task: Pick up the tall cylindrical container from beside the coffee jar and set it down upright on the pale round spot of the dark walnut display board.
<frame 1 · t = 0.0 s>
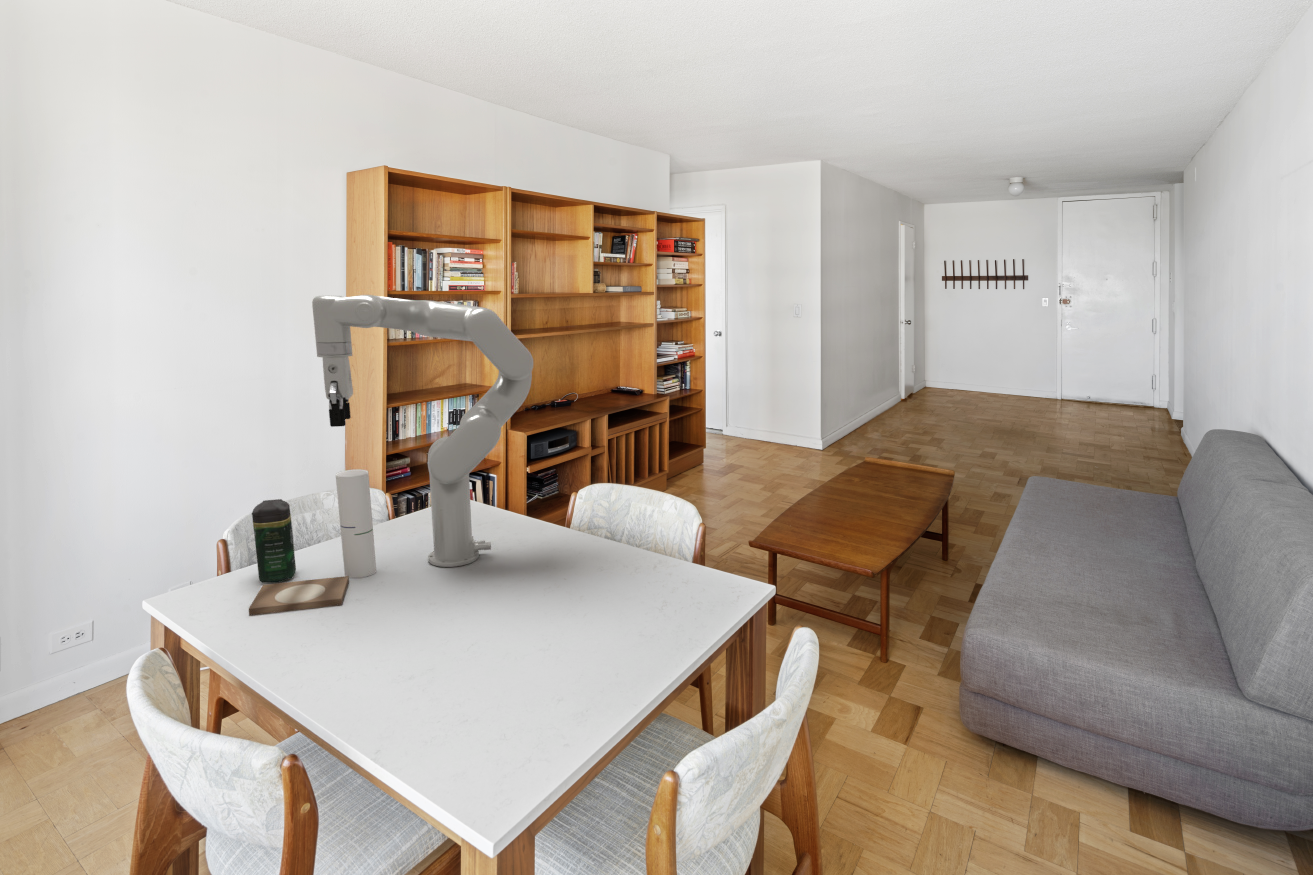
hand: (340, 422, 165), 37 cm above the table, tool pointing down, fingers open, 9 cm apart
coffee jar: (278, 577, 167), on the table
cylindrical container: (360, 572, 170), on the table
walnut board: (301, 597, 156), on the table
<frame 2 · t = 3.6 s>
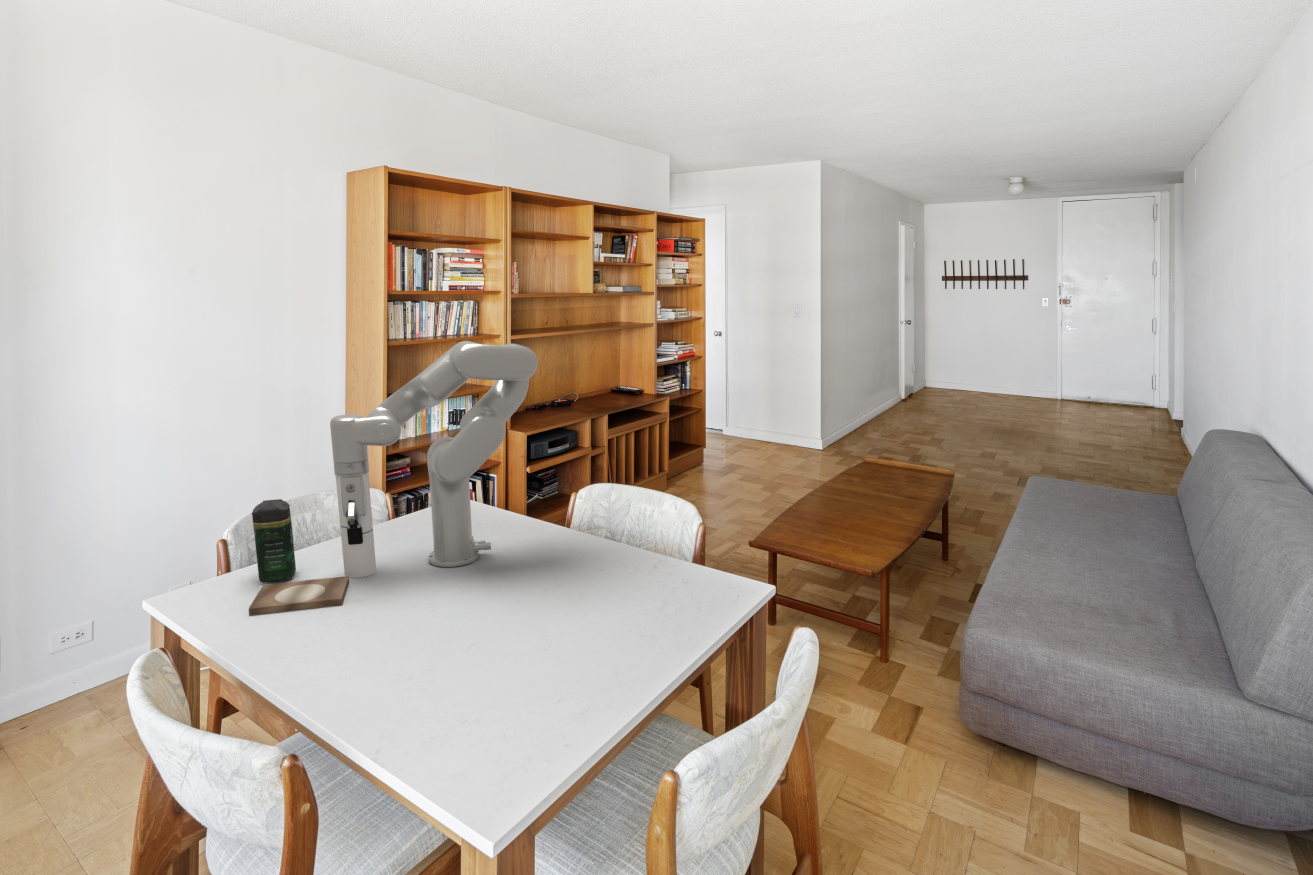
hand: (357, 537, 168), 9 cm above the table, tool pointing down, fingers closed on cylindrical container, 7 cm apart
cylindrical container: (360, 572, 170), on the table, touching gripper
everything else where it was.
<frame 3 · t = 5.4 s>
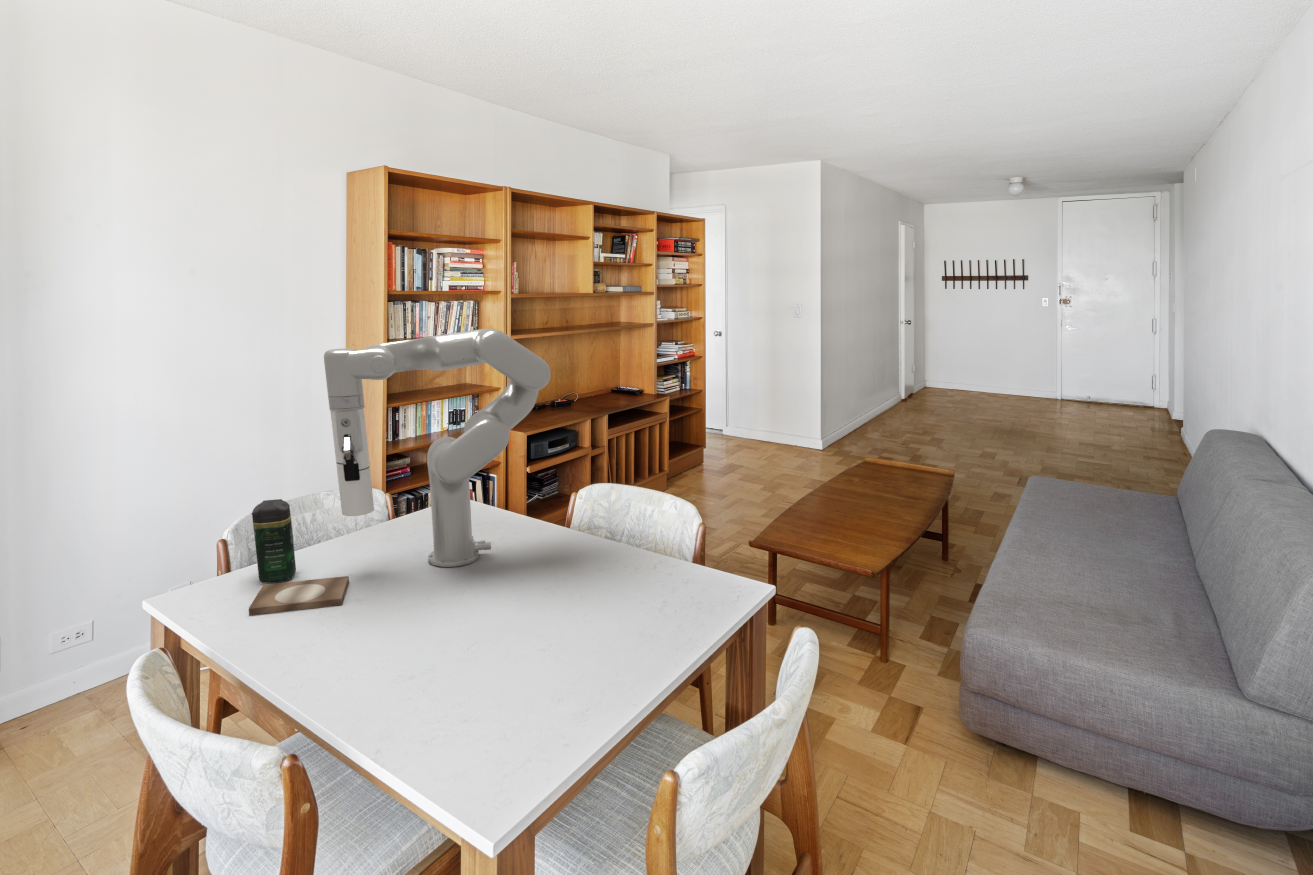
hand: (354, 475, 165), 24 cm above the table, tool pointing down, fingers closed on cylindrical container, 7 cm apart
cylindrical container: (358, 512, 167), point 15 cm above the table, touching gripper
everything else where it was.
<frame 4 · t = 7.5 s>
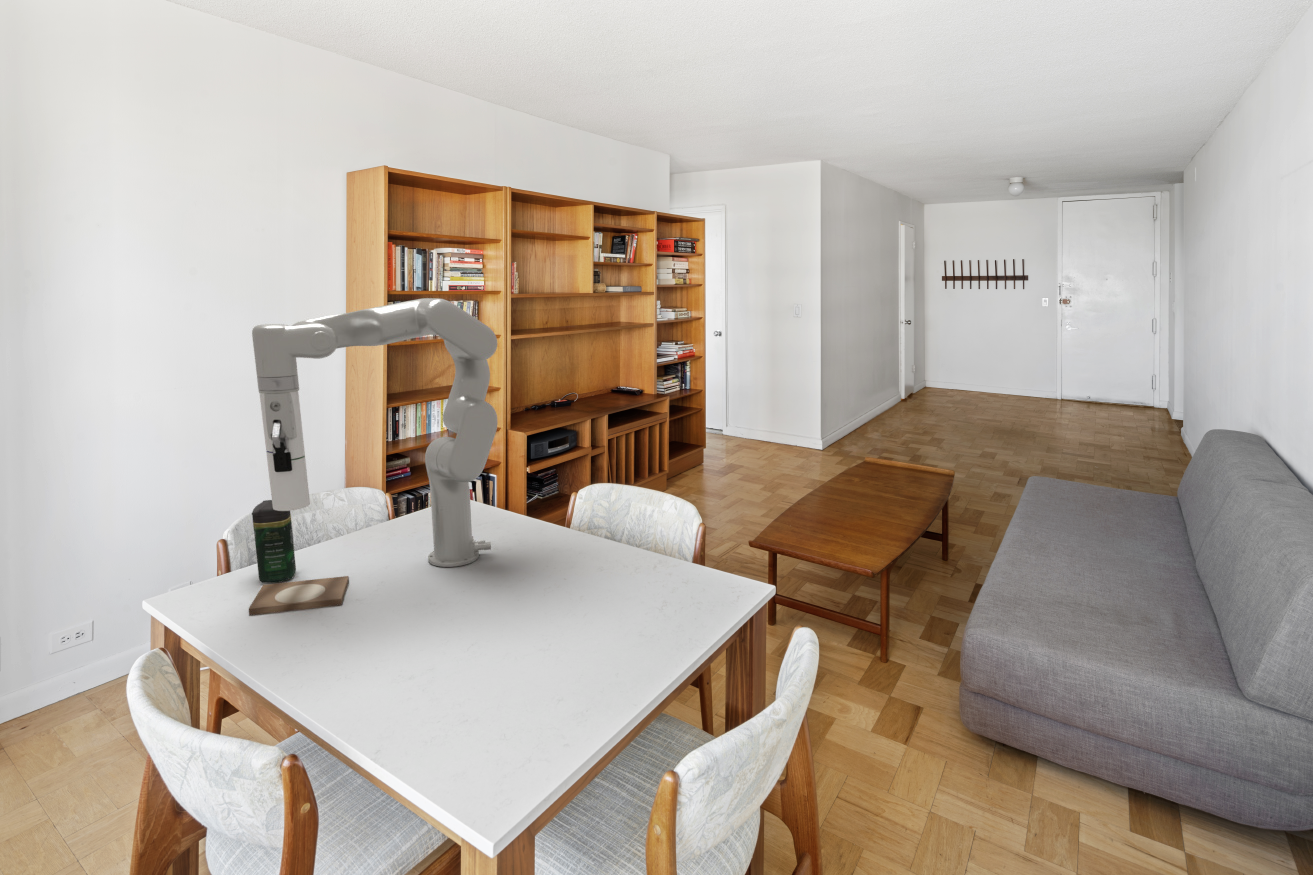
hand: (287, 466, 149), 30 cm above the table, tool pointing down, fingers closed on cylindrical container, 7 cm apart
cylindrical container: (291, 506, 151), point 21 cm above the table, touching gripper
everything else where it was.
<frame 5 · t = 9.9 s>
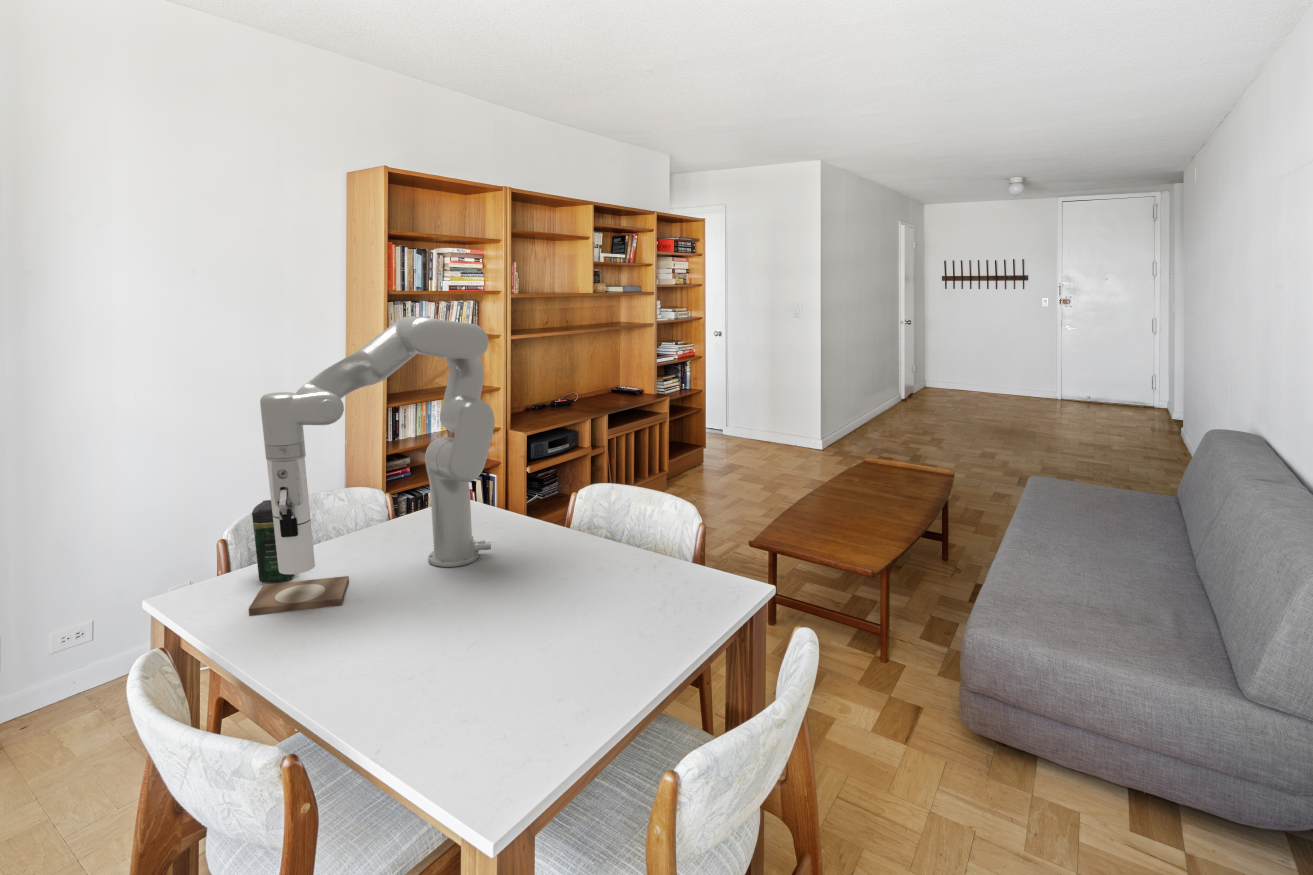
hand: (293, 529, 152), 16 cm above the table, tool pointing down, fingers closed on cylindrical container, 7 cm apart
cylindrical container: (297, 568, 153), point 7 cm above the table, touching gripper
everything else where it was.
when the fingers open (12 cm above the table, at t = 11.8 s): cylindrical container drops 2 cm, resting on walnut board.
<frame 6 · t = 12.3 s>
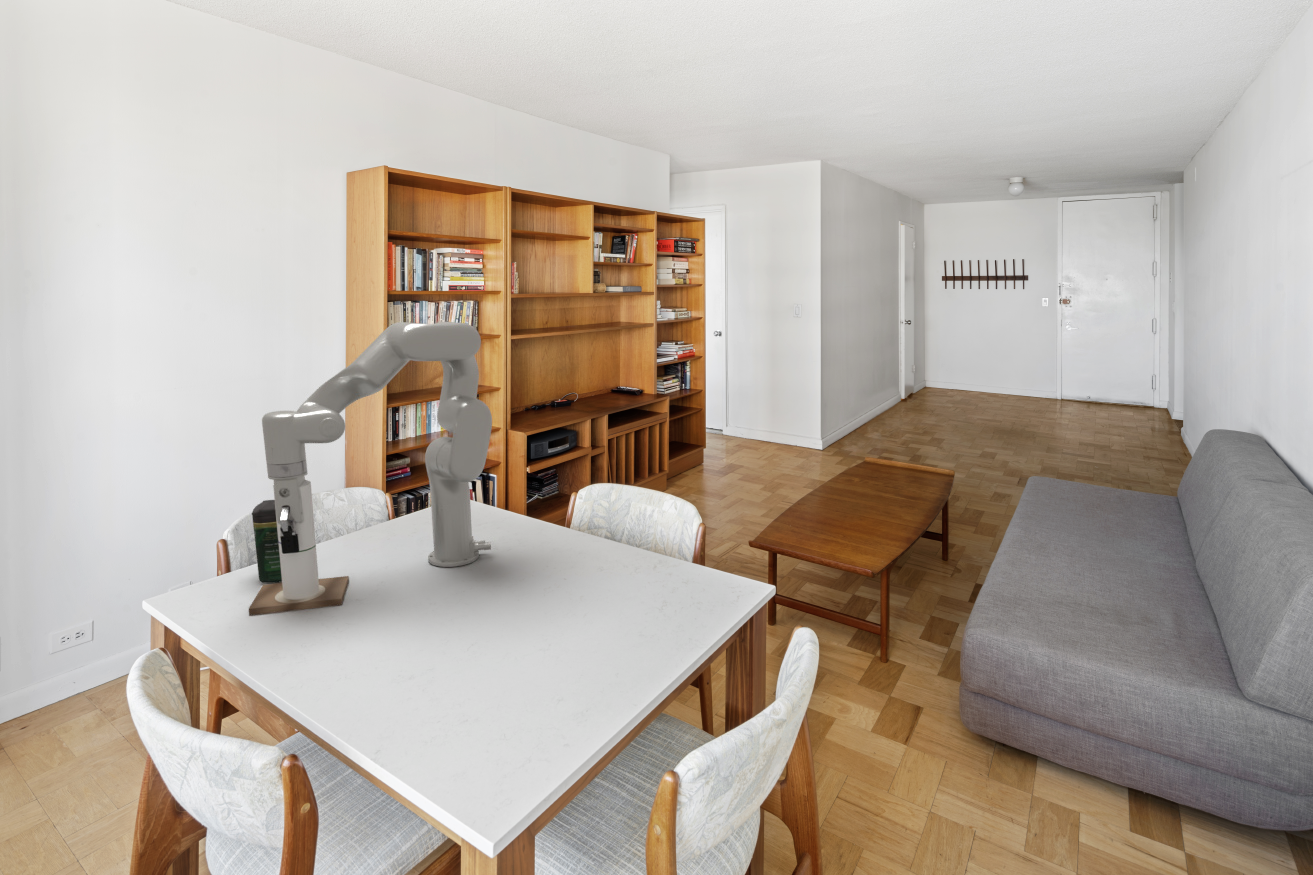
hand: (295, 544, 152), 13 cm above the table, tool pointing down, fingers open, 9 cm apart
cylindrical container: (301, 593, 155), point 1 cm above the table, touching walnut board
everything else where it was.
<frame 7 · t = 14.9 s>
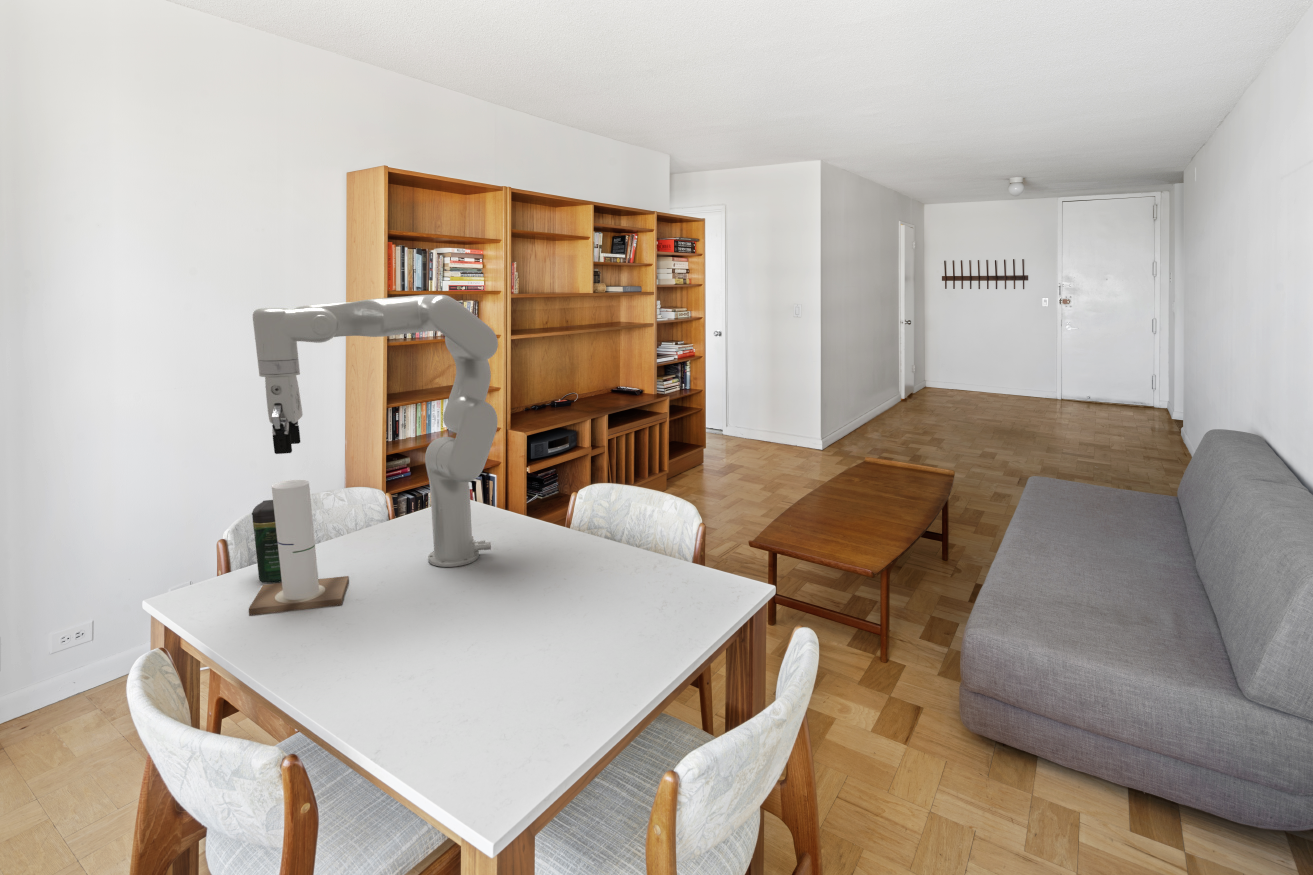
hand: (288, 448, 149), 34 cm above the table, tool pointing down, fingers open, 9 cm apart
nothing on the table moved.
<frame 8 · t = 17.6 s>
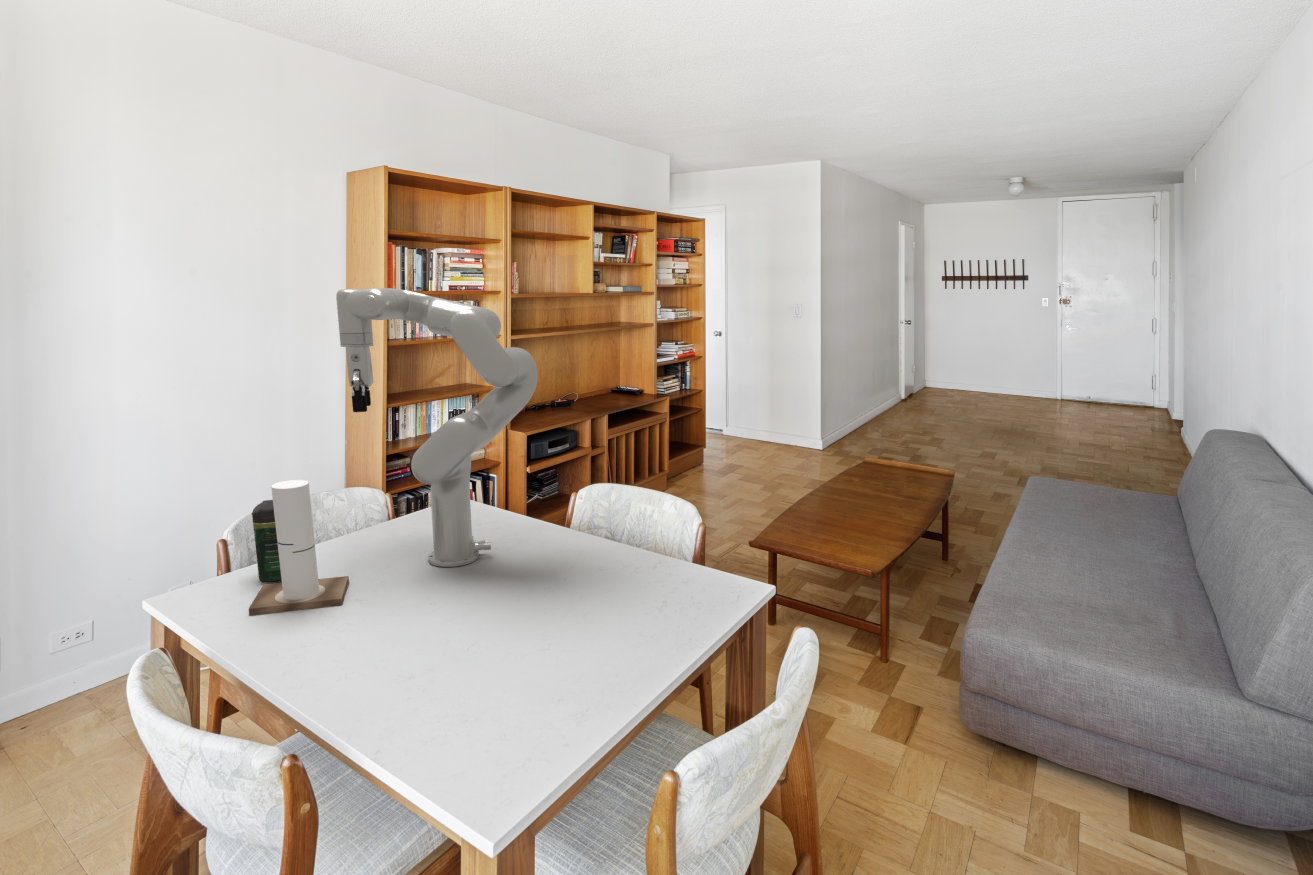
hand: (362, 408, 175), 38 cm above the table, tool pointing down, fingers open, 9 cm apart
nothing on the table moved.
at the end: cylindrical container inside the target area on the walnut board (0.3 cm from its centre), point 1.3 cm above the walnut board's base; cylindrical container tilted 0°; the gripper is holding nothing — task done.
